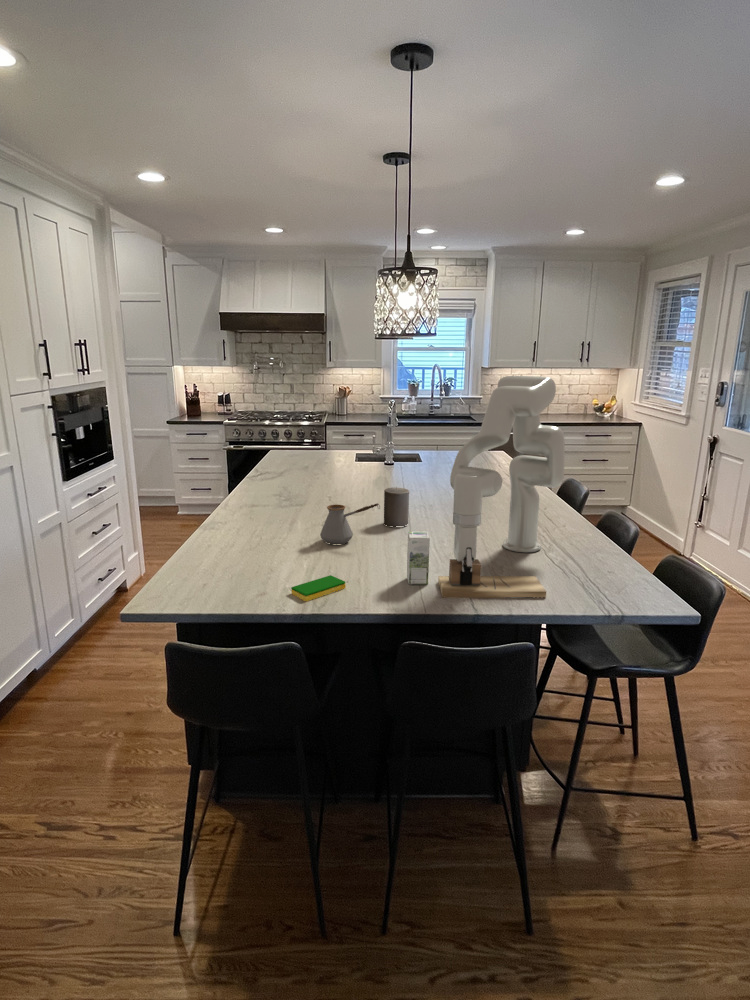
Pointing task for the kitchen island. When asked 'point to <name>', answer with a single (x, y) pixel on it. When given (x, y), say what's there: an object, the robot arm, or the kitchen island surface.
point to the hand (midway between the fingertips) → (464, 580)
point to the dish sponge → (318, 588)
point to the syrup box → (418, 558)
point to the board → (494, 587)
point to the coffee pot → (339, 524)
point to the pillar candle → (396, 506)
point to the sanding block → (457, 567)
